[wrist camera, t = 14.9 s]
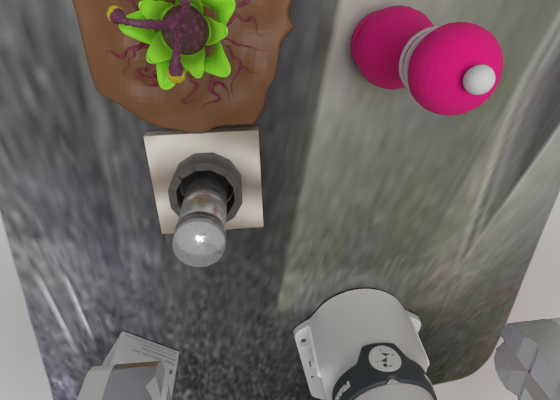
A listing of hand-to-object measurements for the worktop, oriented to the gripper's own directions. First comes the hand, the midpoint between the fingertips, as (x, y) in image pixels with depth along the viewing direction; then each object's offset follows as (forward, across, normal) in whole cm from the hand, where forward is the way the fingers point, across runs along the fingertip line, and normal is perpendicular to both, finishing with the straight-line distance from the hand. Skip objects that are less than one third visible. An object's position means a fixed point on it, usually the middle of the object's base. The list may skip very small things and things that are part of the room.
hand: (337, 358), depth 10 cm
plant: (+37, +6, -4) cm, 38 cm away
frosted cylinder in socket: (+34, +6, +12) cm, 37 cm away
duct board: (+36, +6, +12) cm, 39 cm away
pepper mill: (+36, -13, -2) cm, 39 cm away
